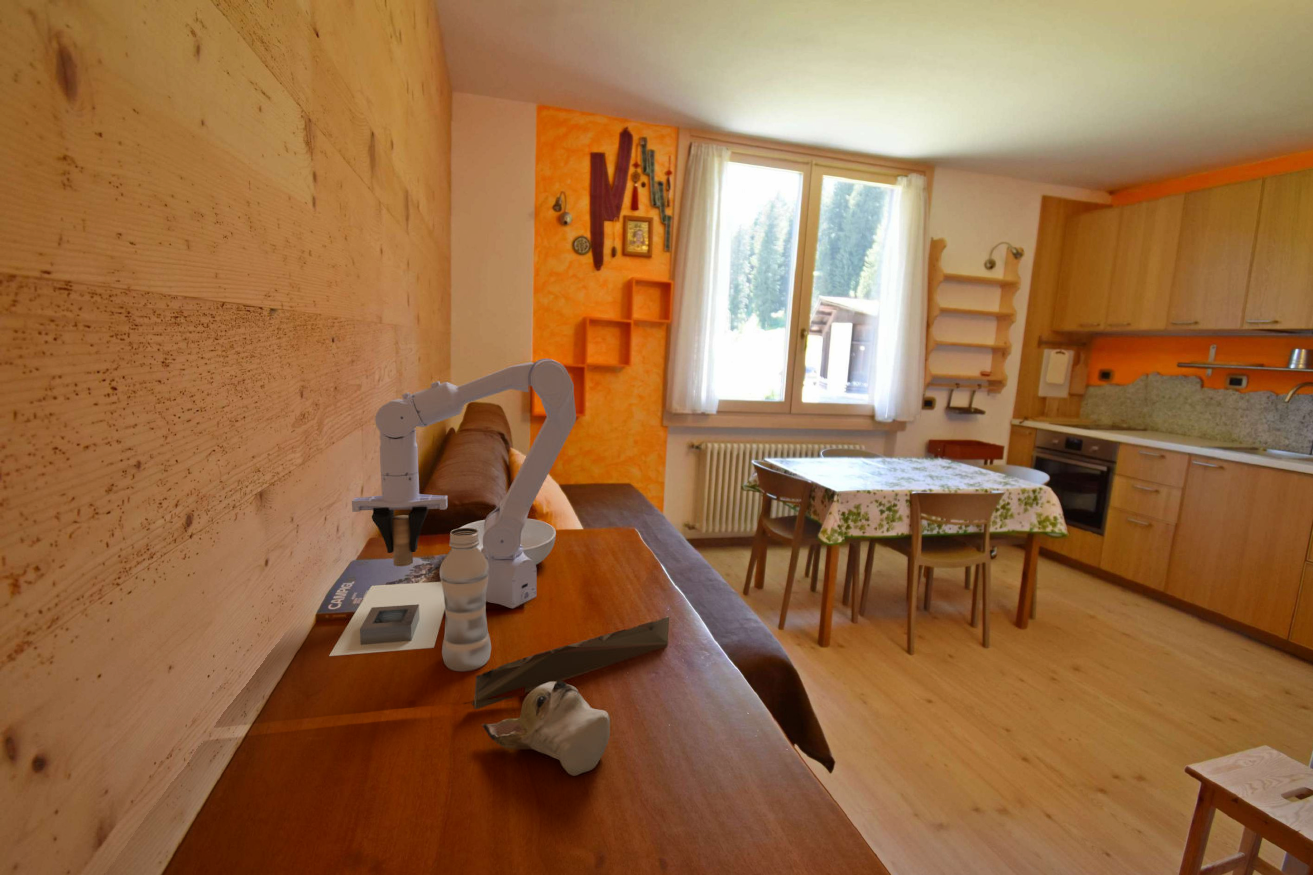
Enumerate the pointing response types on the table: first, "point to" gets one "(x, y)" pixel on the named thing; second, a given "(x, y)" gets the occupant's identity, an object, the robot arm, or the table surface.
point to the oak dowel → (401, 541)
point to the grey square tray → (389, 624)
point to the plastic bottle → (465, 602)
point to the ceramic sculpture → (557, 727)
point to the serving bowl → (527, 538)
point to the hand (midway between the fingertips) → (402, 550)
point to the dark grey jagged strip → (570, 661)
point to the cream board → (396, 595)
